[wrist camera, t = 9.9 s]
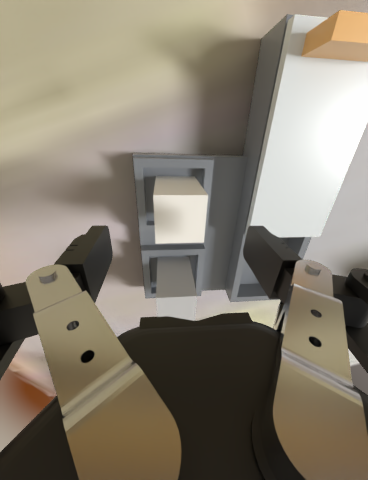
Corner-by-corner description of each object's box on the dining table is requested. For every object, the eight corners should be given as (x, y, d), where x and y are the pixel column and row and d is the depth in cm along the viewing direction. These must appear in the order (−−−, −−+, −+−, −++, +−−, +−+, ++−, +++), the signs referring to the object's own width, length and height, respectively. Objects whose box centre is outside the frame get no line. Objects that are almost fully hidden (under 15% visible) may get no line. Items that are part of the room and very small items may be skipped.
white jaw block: (156, 176, 20) (153, 195, 14) (194, 176, 20) (208, 195, 14) (157, 212, 22) (155, 243, 16) (192, 212, 22) (203, 242, 16)
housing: (123, 27, 16) (89, -67, 8) (350, 46, 18) (485, -16, 10) (145, 285, 29) (139, 338, 21) (274, 280, 31) (309, 327, 23)
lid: (287, 20, 13) (326, -14, 10) (395, 30, 14) (461, 1, 11) (244, 234, 21) (259, 252, 18) (315, 233, 22) (340, 250, 19)
